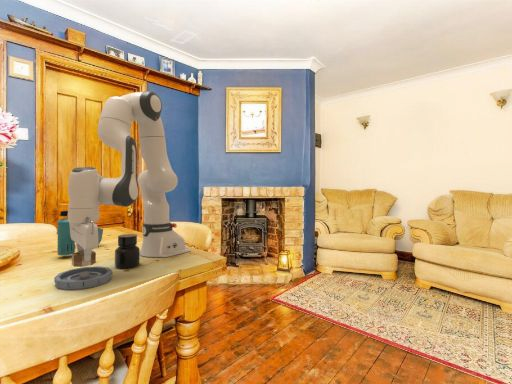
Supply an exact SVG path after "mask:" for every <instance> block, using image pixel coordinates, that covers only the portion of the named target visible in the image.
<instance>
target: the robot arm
mask: <svg viewBox="0 0 512 384" xmlns="http://www.w3.org/2000/svg"><path fill="white" fill-rule="evenodd" d="M162 108H163V104H162V101H161V98H160V97H159V95H158V94H157V93H156V92H154V91H152V90H151V91H149V90H144V91H135V92H130V93H127V94H124V95H118V96H116V95H115V96H110V97H108V98H107V99H106V101H105V103H104V105H103V107H102V110H101V113H100V116H99V120H98V125H97V136H98V138H99V140H100V141H101V142H102V143H103V144H105V146H107V147H109V148H111V149H113V150H115V151H118V152H120V155H121V167H120V168H121V171H120V172H121V173H120V174H121V175H120V176H119V177H104V176H103V175H101V174H99V172H98V169H97V168H96V167H93V166H83V167H82V166H80V167H75V168H73V169H71V171H70V173H69V176H68V182H67V195H68V198H69V202H68V204H67V205H68V206H67V211H68V214H67V216H66V218H67V219H68V222H69V227H70V236H71V239H72V240H73V241H74V242H75V248H76V252H81V251H84V255H83V259H84V261H90V260H91V253H92V251H93V250H95V249H98V247H99V245H100V243H99V242H98V228H99V227H98V224H96V223H97V222H99V221H100V205H103V206H104V205H106V206H118V207H123V208H124V207H126V208H128V207H130V206H132V204H134V203H135V202H136V201H137V199H138V198H139V195H140V194H139V193H141V198H142V203H143V222H142V244H141V248H140V257H146V258H147V257H148V258H169V257H172V256H177V255H181V254H184V253H185V254H186V253H189V252H191V248H190V247H188V246H186V242H185V239H184V237H183V235H181V234H179V233H177V231H174V230H173V229H176V228H177V227H178V224H177V223H172V222H170V204H169V203H168V201H167V197H166V193H169V192H172V191H174V190H175V189H176V188H177V185H178V183H179V182H178V180H179V179H178V175H177V174H176V173H175V172H174V171H173V168H172V165H171V162H170V160H169V157H168V153H167V143H166V136H165V129H164V123H163V121H162V117H161V113H162V110H163V109H162ZM133 122H137V125H138V141H139V149H140V156H141V158H142V159H143V162H144V163H145V164H144V165H145V167H146V169H144V170H142V172H140V173H139V174H138V148H137V143H136V140H135V139H134V138H133V137H132V136H131V134H132V133H131V130H132V123H133ZM139 187H140V189H139ZM139 191H140V192H139ZM98 244H99V245H98Z"/></svg>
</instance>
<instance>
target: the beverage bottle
mask: <svg viewBox="0 0 512 384" xmlns="http://www.w3.org/2000/svg"><path fill="white" fill-rule="evenodd" d="M67 214H68V210H61V211H60V212H59V216H60V217H62V218H60V219H58V221H56V222H57V248H56V249H57V253H56V254H57V255H58V256H63V257H65V256H70V255H71V256H72V254H73V253H76V242H74V241H73V240H72V239H71V236H70V227H69V222H68V219H67ZM63 217H66V218H63Z"/></svg>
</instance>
